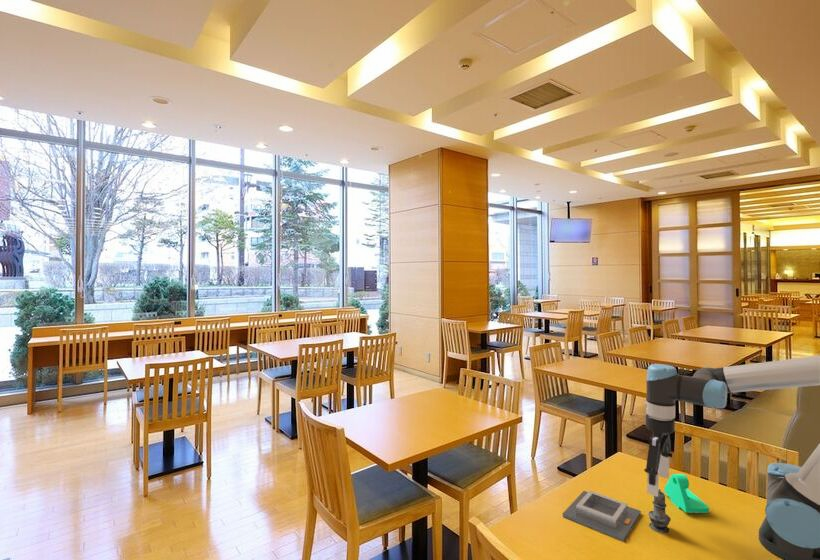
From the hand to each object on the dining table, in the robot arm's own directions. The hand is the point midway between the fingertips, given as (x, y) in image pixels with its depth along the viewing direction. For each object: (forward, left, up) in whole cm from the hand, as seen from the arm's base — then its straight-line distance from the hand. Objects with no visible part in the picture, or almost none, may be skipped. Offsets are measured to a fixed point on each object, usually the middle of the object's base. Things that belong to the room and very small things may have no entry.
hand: (658, 485), depth 126 cm
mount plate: (+15, +5, -13) cm, 20 cm away
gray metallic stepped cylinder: (0, 0, -13) cm, 13 cm away
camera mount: (-4, -20, -13) cm, 24 cm away
